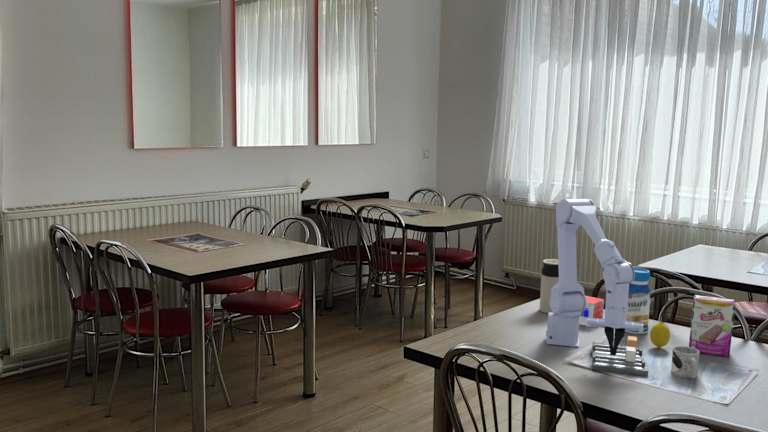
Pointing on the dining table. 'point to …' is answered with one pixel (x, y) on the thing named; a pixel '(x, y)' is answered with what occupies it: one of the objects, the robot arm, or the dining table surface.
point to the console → (618, 360)
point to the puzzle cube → (592, 310)
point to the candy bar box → (712, 325)
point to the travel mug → (548, 283)
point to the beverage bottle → (639, 300)
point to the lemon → (660, 335)
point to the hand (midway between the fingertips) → (612, 354)
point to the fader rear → (632, 342)
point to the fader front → (630, 354)
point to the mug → (685, 362)
